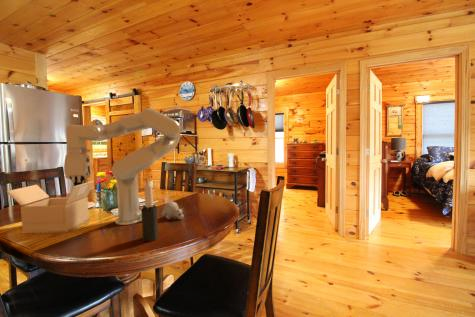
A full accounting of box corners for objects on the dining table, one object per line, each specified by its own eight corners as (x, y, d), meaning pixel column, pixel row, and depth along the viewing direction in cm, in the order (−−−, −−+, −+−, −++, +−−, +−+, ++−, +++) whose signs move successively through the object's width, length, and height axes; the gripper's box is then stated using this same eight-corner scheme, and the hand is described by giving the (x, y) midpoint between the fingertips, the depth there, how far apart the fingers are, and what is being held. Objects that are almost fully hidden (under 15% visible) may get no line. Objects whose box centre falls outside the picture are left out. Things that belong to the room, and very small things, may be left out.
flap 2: (72, 186, 101) (74, 187, 101) (93, 180, 117) (94, 181, 117) (64, 203, 101) (65, 204, 101) (86, 195, 117) (87, 196, 117)
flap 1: (36, 184, 115) (36, 185, 115) (7, 191, 100) (6, 191, 100) (49, 196, 116) (48, 197, 116) (22, 205, 101) (21, 205, 101)
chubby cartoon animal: (176, 227, 114) (180, 212, 112) (158, 215, 118) (162, 200, 116) (185, 222, 120) (189, 208, 118) (168, 211, 124) (172, 197, 122)
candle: (158, 235, 96) (156, 176, 95) (155, 241, 91) (152, 178, 90) (146, 236, 96) (143, 176, 95) (142, 241, 91) (138, 178, 89)
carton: (89, 219, 119) (88, 196, 118) (66, 232, 101) (64, 206, 101) (51, 221, 118) (49, 197, 117) (21, 234, 101) (19, 207, 100)
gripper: (97, 151, 112) (99, 189, 113) (66, 151, 111) (67, 189, 112) (88, 152, 104) (89, 192, 105) (54, 151, 104) (56, 192, 105)
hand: (78, 190), depth 109 cm, fingers closed
